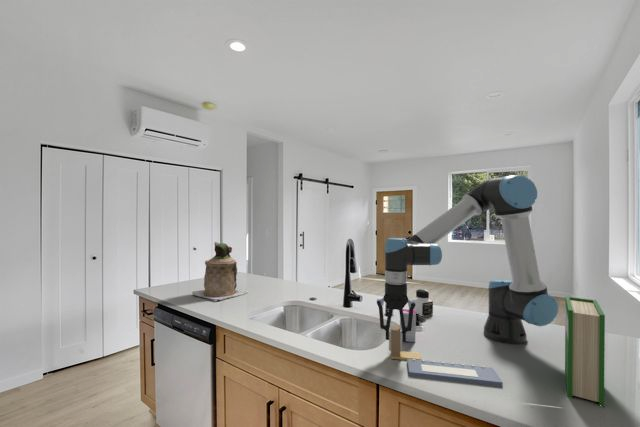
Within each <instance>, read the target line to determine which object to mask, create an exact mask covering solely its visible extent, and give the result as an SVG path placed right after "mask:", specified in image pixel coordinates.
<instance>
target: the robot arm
mask: <svg viewBox="0 0 640 427" xmlns="http://www.w3.org/2000/svg"><path fill="white" fill-rule="evenodd" d="M537 199H538V189H537V187H536V183H535V182H533V181H532V180H531V178H528V177H527V176H525V175H521V174H520V175H517V174H516V175H514V174H512V175H507V176H500V177H495V178H494V177H493V178H490V179H487V180H485V181H483V182H481V183H479V184H478V185H477V186H475V187H473V188H472V189H471V190H470V191H468V192H467V193H466V194H463V196H461V200H460V201H459V202H457V203H456V204H455V205H453V206H452V207H451V208H449V209H448V210H445V212H444V213H442V214H441V215H439V216H438V217H437V218H435V219H434V220H432V221H431V222H429V224H427V225H426V226H424V227H423V228H421V229H420V230H419V231H417V232H416V233H414V235H412V236H410V237H409V238H404V237H389V238H387V239H386V240H385V245H384V281H385V283H384V295H383V297H382V298H377V299H376V304H377V306H378V313H379V315H378V316H379V325H380V326H379V327H380V329H381V330H384V331H385V339H386V341H388V351H390V352H391V322H392V321H391V320H392V314H393V310H394V311H395V310H397V311H398V313H399V320H400V319H401V326H402V330H400V352H402V351H403V342H402V341H406V332H407V331H411V328H412V317H413V309H414V307H415V302H414V301H412V300H410V299H409V297H408V284H407V283H408V266H436V265H439V264H440V263H441V261H442V259H443V251H442V248H441V246H440V245H439V244H438V242H439V241H441V240H442V239H444V238H445V237H446V236H448V235H449V234H450V233H452V232H453V231H454V230H456V229H458V228H459V227H460V226H462V225H463V224H465V223H466V222H467V221H468V220H470V219H472V217H474V216H480V215H481V214H482V213H484V212H486V211H489V210H492V209H493V210H494V214H495V216H496V217H497V218H498V219H500V220H501V227H502V232H503V236H504V237H503V238H504V244H505V248H506V254H507V258H508V259H507V260H508V264H509V269H510V274H511V279H491V280H490V281H489V283H488V289H487V290H488V315H487V317H486V321H485V322H484V323H485V324H484V326H483V335H484V336H486V337H487V338H488V339H491V340H493V341H497V342H500V343H506V344H514V345H515V344H516V345H517V344H525V343H526V342H527V332H526V330H525V327H524V323H523V321H524V322H526V323H527V324H530V325H534V326H536V327H545V326H547V325H550V324H551V323H553V321H554V320H555V318H556V317H557V316H558V314H559V303H558V300H556V298H555V297H553V296H552V295H550V294H549V292H548V287H547V284H546V283H544V282H543V281H541V278H540V272H539V268H538V267H539V266H538V261H537V255H536V251H535V250H536V249H535V245H534V241H533V240H534V239H533V235H532V234H533V233H532V229H531V224H530V218H529V215H530V214H532V212H533V205H534V204H535V203H536V200H537ZM384 302H385V304H386V306H387V307H388V311H387V316H386V317H387V318H386V323H385V320H384V307H383V306H384ZM406 305H407V306H408V310H409V314H408V325H407V326H406V327H405V322H404V315H403V309H404V308H405V306H406Z"/></svg>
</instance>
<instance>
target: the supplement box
mask: <svg viewBox="0 0 640 427" xmlns="http://www.w3.org/2000/svg"><path fill="white" fill-rule="evenodd" d="M408 314H409V309H406V308H405V309H404V308H403V315H404V322H405V327H406V326H407V325H408ZM416 322H417V315H416V313H415V310H413V317H412V328H411V331H407V332H406V341H402V343H411V344H412V343H413V344H416V330H417V329H416V327H417V326H416V325H417V323H416ZM399 326H400V330H402V326H401V319H400V318H399Z"/></svg>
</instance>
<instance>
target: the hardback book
mask: <svg viewBox="0 0 640 427" xmlns="http://www.w3.org/2000/svg"><path fill="white" fill-rule="evenodd" d="M564 307H565V310H564V311H565V313H564V315H565V317H564V318H565V319H564V320H565V321H564V322H565V323H564V324H565V325H564V330H565V332H564V333H565V337H564V375H565V384H567V385H566V392H567V398H568V397H570V398H569V399H571V398H572V399H573V396H575V397H578V398H581V399H586V400H589V401H592V402H597V403H598V402H599V403H598V406H599V405H601V406H604V407H605V348H606V347H605V346H606V345H605V337H606V335H605V334H606V333H605V332H606V330H605V329H606V327H605V325H606V322H605V320H606V315H605V313H604V311H603V310H602V307H601V306H600V304H599V303H598V300H597V299H589V298H581V297H573V296H565V306H564ZM601 406H600V407H601Z"/></svg>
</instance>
